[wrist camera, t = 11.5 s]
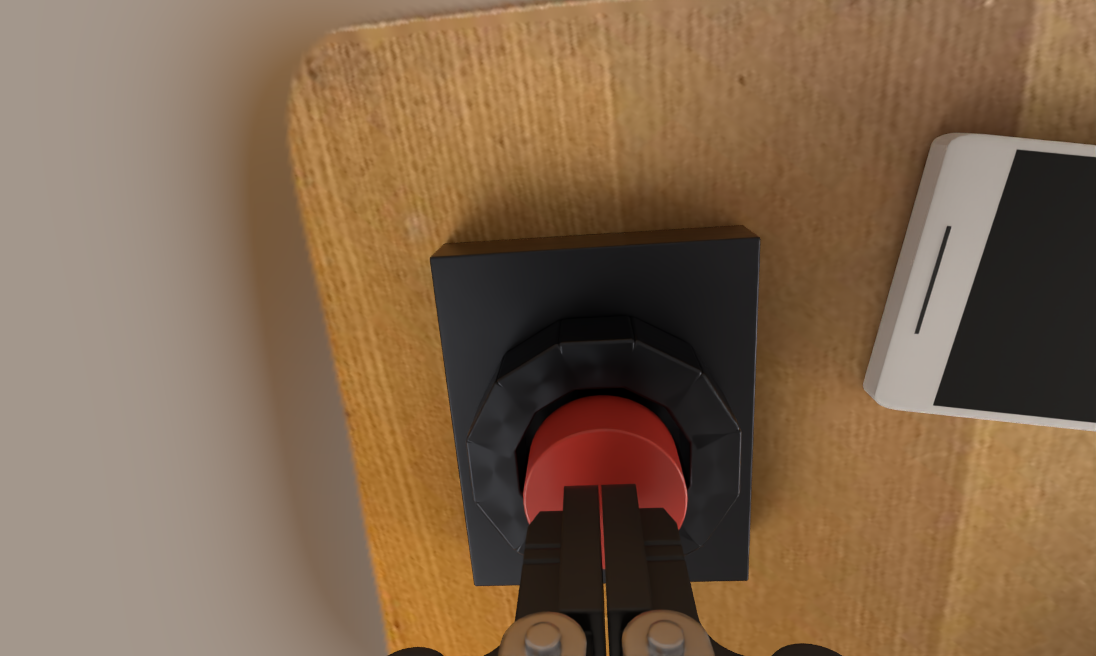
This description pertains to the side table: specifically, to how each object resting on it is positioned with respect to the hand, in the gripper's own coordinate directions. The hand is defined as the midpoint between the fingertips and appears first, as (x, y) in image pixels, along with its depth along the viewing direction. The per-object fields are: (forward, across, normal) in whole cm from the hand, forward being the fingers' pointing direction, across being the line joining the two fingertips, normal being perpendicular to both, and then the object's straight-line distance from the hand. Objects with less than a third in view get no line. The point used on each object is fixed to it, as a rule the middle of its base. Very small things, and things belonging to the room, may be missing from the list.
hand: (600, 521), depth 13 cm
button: (+2, 0, 0) cm, 2 cm away
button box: (+6, 0, 0) cm, 6 cm away
